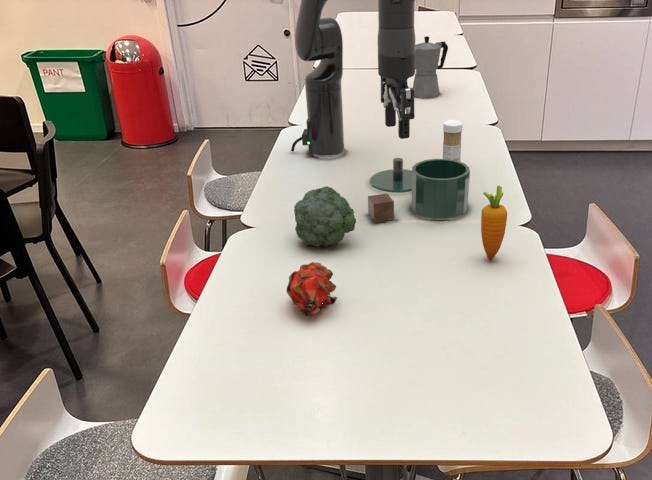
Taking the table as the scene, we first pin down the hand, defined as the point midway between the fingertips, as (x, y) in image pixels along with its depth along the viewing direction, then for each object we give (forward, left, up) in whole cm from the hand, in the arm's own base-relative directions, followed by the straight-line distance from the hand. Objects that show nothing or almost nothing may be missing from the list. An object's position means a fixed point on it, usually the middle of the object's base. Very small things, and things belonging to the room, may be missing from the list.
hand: (397, 131), depth 150 cm
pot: (+9, +1, -18) cm, 20 cm away
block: (-4, -4, -18) cm, 19 cm away
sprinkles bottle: (+12, +21, -18) cm, 30 cm away
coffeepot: (+6, +94, -18) cm, 96 cm away
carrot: (+19, -23, -18) cm, 35 cm away
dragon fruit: (-14, -42, -18) cm, 48 cm away
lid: (-1, +16, -17) cm, 23 cm away
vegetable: (-15, -15, -18) cm, 28 cm away
